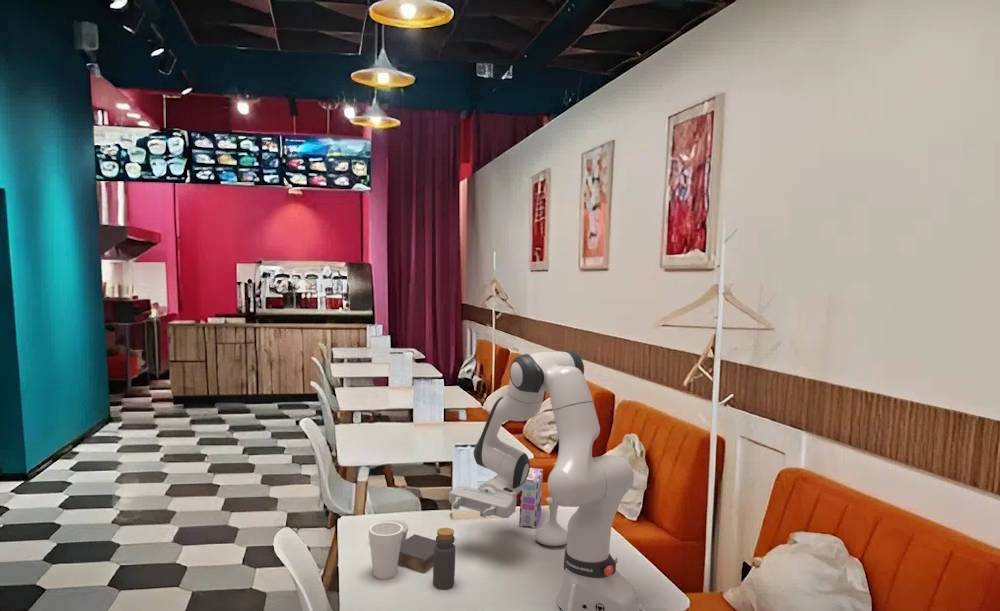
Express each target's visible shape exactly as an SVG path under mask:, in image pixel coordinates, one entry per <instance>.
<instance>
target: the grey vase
mask: <svg viewBox="0 0 1000 611" xmlns="http://www.w3.org/2000/svg"><path fill="white" fill-rule="evenodd" d="M555 464H556V462H553V467H554V466H555ZM545 501H546V502H547V505H548V509H549V518H548V521H547V522H546V523H545V524H544V525H542V526H540V527H539V528H538V529H536V531H535V533H534V535H533V536H534V539H535V540H536V541H537V542H538V543H539V544H542V545H545V546H548V547H559V546H564V545H567V532H568V531H567V530H566V529H565V528H563V527H562V525H560V524H559V523H558V521H557V514H558V509H559V507H560V506H559V505H558V504H556V503H555V502H554V501H553V499H552V498H551V496H548V497H546V499H545Z"/></svg>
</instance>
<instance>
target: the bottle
mask: <svg viewBox="0 0 1000 611" xmlns="http://www.w3.org/2000/svg"><path fill="white" fill-rule="evenodd" d="M436 534H437V536H436V538H435V540H436V542H437V544H436V545H435V547H434V565H433V567H432V568H433V570H432V586H433V587H434V588H436V589H439V590H448V589H451V588H453V587H454V585H455V576H456V575H455V571H456V569H455V568H456V545H455V544H454V543H455V539H456V538H455V536H454V534H455V530H454V529H452V527H451V528H450V527H442V528H441V527H440V528H438V529H437V530H436Z"/></svg>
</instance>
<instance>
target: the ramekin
mask: <svg viewBox="0 0 1000 611" xmlns="http://www.w3.org/2000/svg"><path fill="white" fill-rule="evenodd" d="M380 522H396V523H398V524H401V525H402V527H403V537H402V540H401V542H403V541H404V540H406V539H407V534H408V531H409V525H408V524H407V523H406V522H404V521H400V520H395V519H389V520H387V519H386V520H382V521H378V522H377V523H380Z"/></svg>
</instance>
